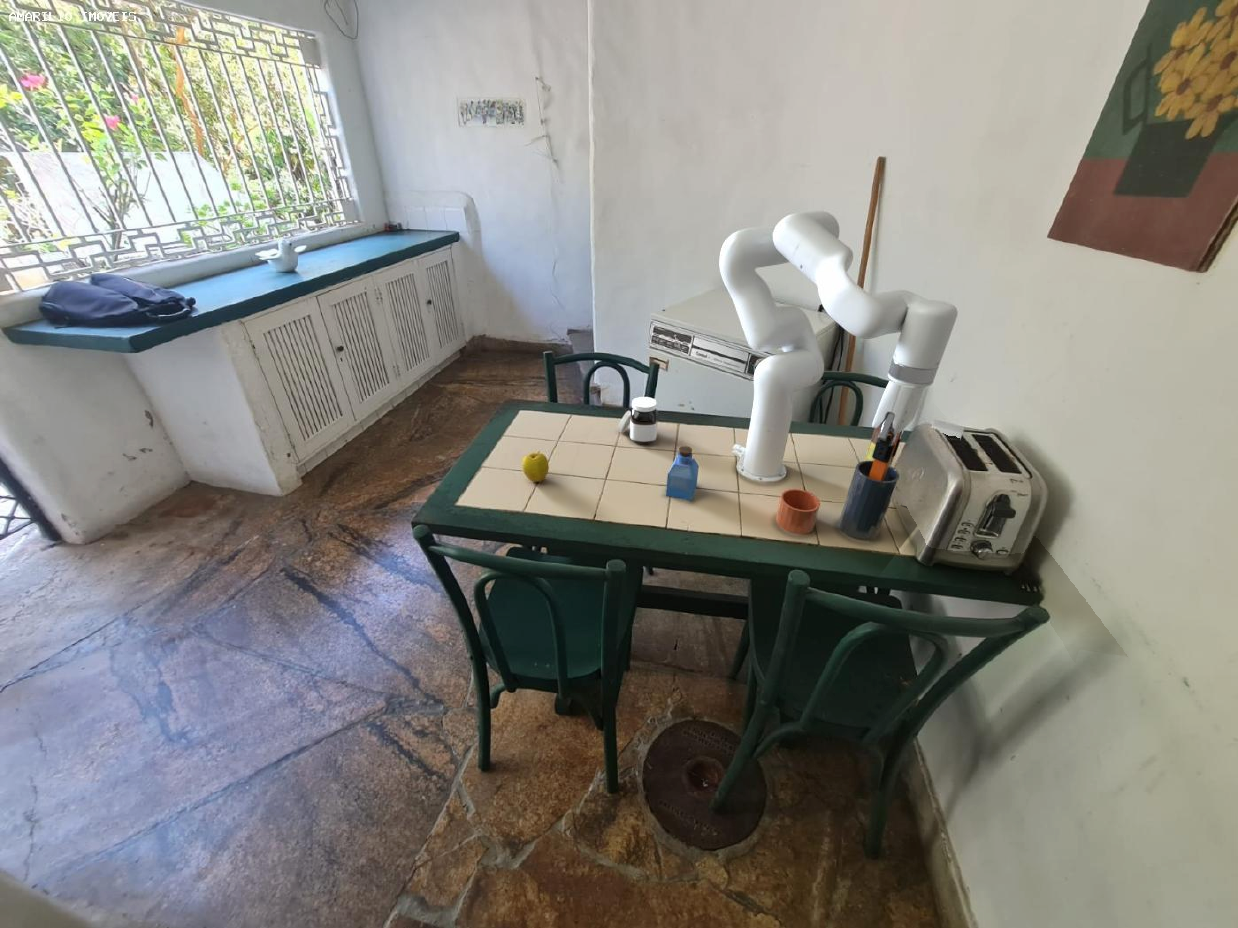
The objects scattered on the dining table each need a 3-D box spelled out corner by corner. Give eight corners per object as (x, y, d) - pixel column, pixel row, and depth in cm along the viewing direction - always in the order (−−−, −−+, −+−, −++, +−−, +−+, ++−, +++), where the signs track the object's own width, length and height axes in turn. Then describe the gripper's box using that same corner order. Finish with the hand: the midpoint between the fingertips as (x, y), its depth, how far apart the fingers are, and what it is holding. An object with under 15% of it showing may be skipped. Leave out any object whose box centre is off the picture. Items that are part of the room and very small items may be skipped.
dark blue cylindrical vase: (831, 530, 113) (849, 471, 105) (846, 514, 118) (865, 456, 110) (867, 548, 109) (890, 487, 100) (882, 531, 114) (905, 471, 105)
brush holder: (768, 524, 115) (774, 499, 111) (786, 508, 120) (792, 484, 116) (802, 541, 110) (809, 516, 106) (819, 524, 115) (826, 499, 111)
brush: (846, 515, 111) (872, 433, 100) (856, 505, 114) (882, 424, 103) (870, 527, 108) (900, 443, 97) (880, 515, 111) (910, 433, 100)
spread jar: (657, 447, 143) (659, 410, 136) (616, 447, 143) (617, 409, 136) (655, 427, 153) (657, 391, 146) (617, 426, 153) (617, 390, 146)
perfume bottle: (696, 486, 127) (701, 445, 120) (691, 501, 122) (695, 458, 115) (672, 482, 129) (675, 440, 122) (665, 495, 124) (669, 453, 117)
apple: (554, 476, 130) (552, 449, 126) (540, 489, 125) (538, 461, 121) (533, 469, 132) (530, 443, 128) (518, 482, 127) (515, 455, 123)
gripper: (906, 355, 100) (879, 436, 110) (874, 377, 90) (848, 465, 100) (948, 365, 96) (916, 449, 106) (919, 390, 86) (887, 480, 96)
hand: (883, 456), depth 103 cm, fingers closed on brush, 2 cm apart
